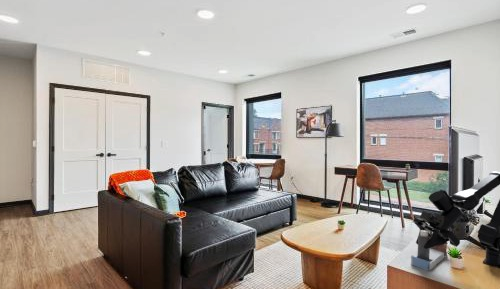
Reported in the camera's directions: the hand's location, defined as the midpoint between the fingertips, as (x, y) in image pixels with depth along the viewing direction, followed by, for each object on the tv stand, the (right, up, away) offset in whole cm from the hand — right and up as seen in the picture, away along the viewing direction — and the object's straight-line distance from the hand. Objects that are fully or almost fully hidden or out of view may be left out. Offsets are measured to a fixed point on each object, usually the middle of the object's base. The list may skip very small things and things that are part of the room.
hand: (420, 245), depth 107 cm
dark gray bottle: (+1, -7, 0) cm, 7 cm away
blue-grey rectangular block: (+6, -8, +4) cm, 11 cm away
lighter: (+16, -8, +14) cm, 23 cm away
